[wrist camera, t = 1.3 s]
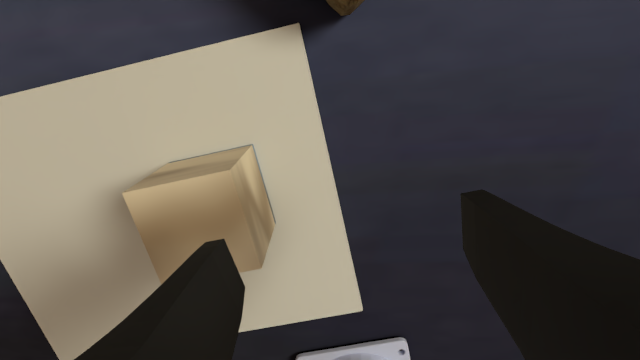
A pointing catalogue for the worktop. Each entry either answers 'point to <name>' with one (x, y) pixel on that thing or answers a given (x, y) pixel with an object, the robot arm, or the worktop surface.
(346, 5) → the stone block
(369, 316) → the worktop surface
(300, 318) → the mat
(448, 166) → the worktop surface
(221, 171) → the cube
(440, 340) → the worktop surface
